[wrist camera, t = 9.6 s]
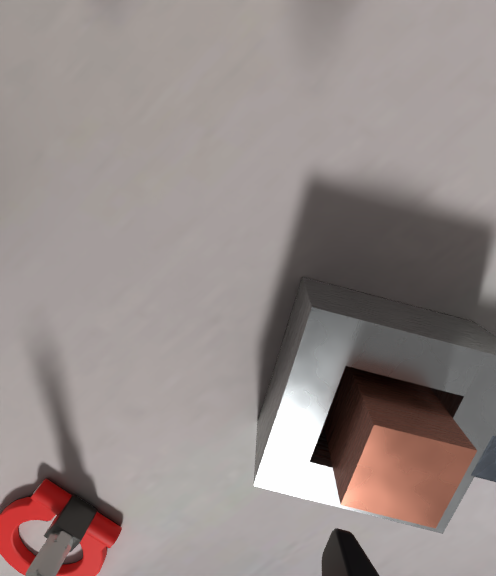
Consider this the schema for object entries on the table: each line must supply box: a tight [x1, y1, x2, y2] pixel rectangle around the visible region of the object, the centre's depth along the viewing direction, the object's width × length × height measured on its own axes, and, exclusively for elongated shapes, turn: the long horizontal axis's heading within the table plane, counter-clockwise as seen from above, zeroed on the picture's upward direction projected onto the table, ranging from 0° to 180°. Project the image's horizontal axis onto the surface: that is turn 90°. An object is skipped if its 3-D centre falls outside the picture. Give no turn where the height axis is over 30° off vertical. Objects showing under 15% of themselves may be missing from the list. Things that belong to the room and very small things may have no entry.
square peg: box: [324, 366, 477, 528], centre depth 18 cm, size 4×4×8 cm
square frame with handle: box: [254, 277, 496, 534], centre depth 19 cm, size 20×10×5 cm, turn 76°
